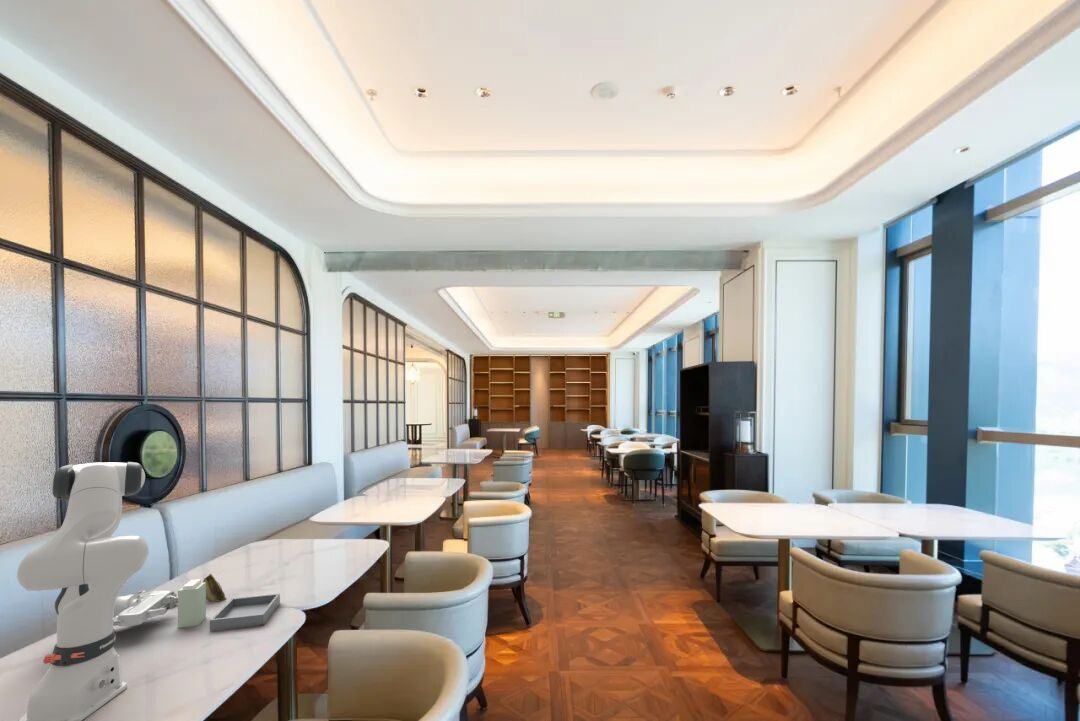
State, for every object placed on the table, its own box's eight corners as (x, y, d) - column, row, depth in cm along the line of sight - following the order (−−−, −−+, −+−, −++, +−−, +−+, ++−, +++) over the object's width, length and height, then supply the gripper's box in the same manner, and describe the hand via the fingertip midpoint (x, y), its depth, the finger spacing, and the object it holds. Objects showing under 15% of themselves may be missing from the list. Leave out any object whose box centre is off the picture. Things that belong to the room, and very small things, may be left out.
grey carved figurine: (177, 607, 188) (177, 595, 188) (151, 613, 184) (151, 601, 184) (176, 598, 197) (176, 587, 197) (151, 603, 192) (151, 592, 192)
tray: (263, 625, 170) (263, 614, 170) (209, 631, 167) (209, 620, 167) (280, 603, 188) (279, 593, 188) (231, 608, 185) (231, 598, 185)
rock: (193, 591, 196) (191, 596, 188) (209, 569, 200) (208, 573, 192) (220, 603, 200) (218, 609, 191) (235, 582, 203) (235, 586, 195)
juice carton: (197, 625, 172) (197, 585, 172) (177, 627, 170) (177, 586, 171) (205, 617, 178) (205, 578, 178) (186, 619, 176) (186, 580, 177)
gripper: (106, 613, 160) (156, 608, 163) (143, 588, 180) (187, 584, 183) (106, 634, 160) (156, 628, 163) (143, 607, 180) (187, 602, 183)
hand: (173, 605), depth 173 cm, fingers open, 8 cm apart
